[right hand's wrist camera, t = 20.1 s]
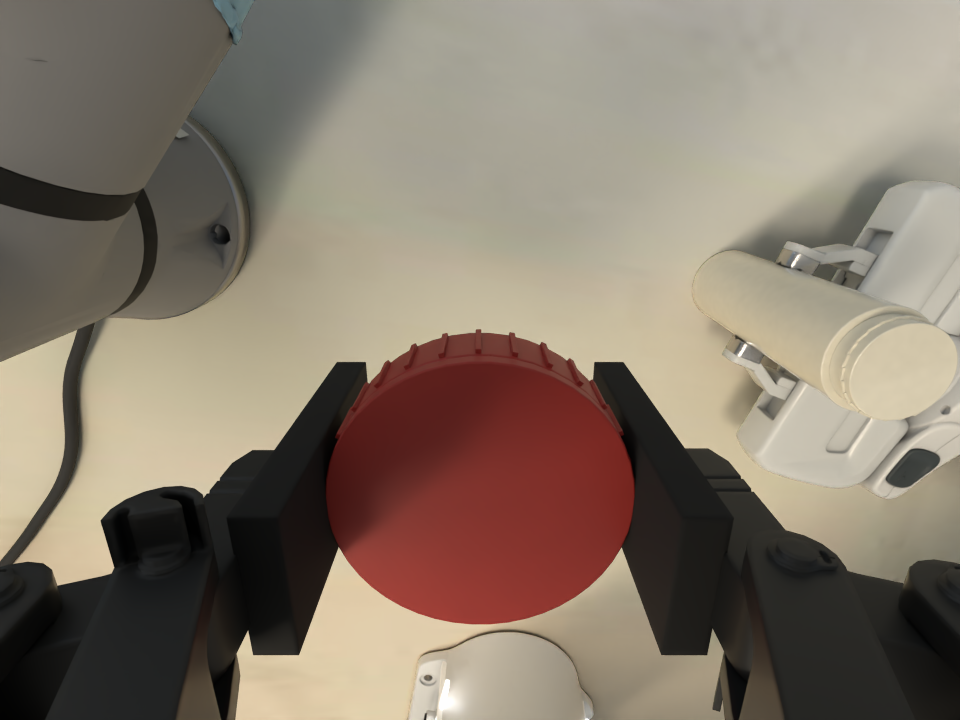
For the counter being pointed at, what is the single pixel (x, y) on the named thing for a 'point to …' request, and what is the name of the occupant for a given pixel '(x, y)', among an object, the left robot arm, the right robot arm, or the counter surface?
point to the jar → (830, 335)
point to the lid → (480, 480)
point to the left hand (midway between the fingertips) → (756, 302)
